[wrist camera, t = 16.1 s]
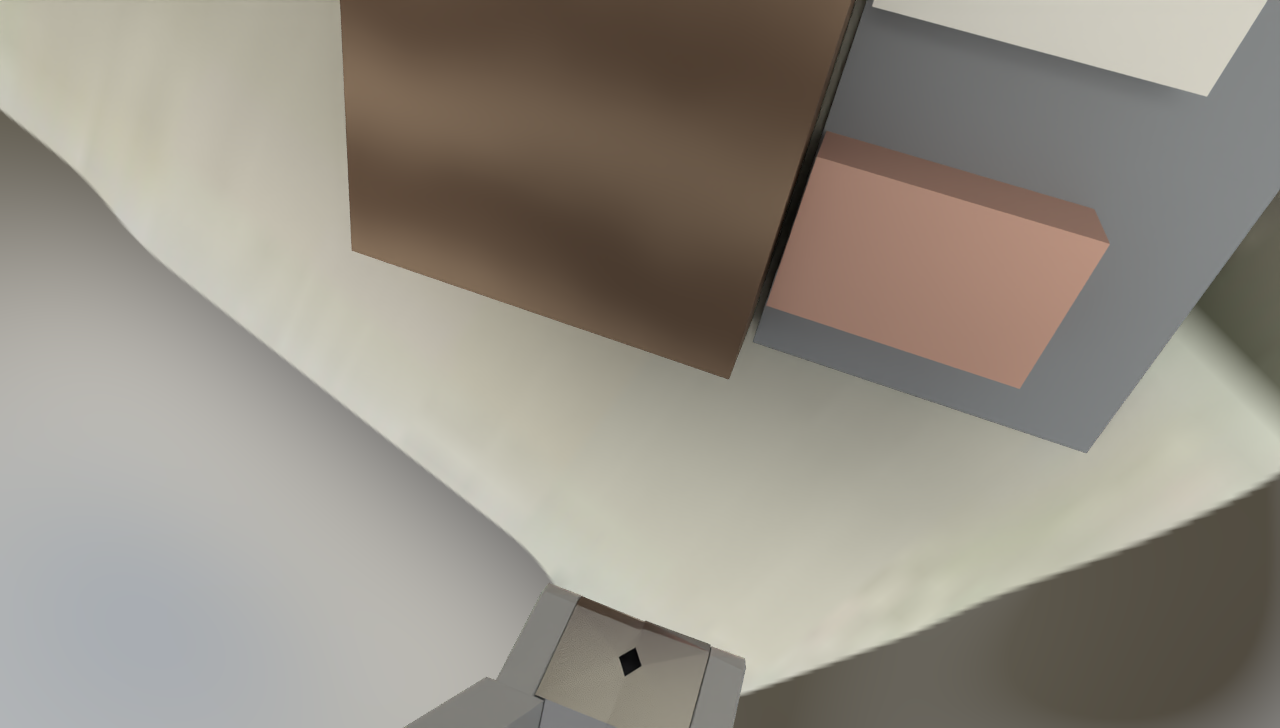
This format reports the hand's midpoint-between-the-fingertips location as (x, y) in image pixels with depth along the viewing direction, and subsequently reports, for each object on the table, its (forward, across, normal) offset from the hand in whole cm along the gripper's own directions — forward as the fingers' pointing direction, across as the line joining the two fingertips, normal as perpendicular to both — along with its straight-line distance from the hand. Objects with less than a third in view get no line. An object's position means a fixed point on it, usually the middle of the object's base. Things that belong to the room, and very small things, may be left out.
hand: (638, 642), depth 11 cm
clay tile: (+17, -4, 0) cm, 18 cm away
